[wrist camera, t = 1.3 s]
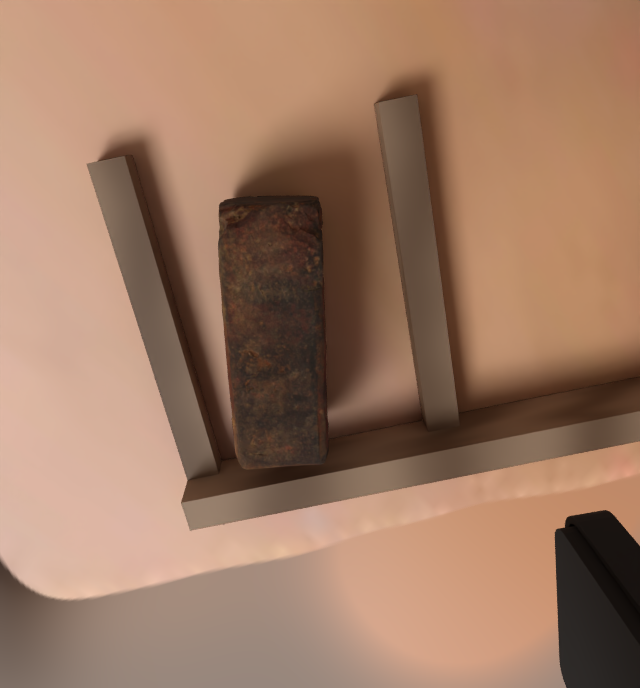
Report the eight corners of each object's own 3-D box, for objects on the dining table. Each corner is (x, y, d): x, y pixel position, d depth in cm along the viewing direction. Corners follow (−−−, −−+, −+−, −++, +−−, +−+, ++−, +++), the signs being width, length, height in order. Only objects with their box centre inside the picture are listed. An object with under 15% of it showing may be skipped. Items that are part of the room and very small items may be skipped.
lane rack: (694, 36, 23) (750, 22, 20) (687, 394, 29) (730, 422, 26) (95, 162, 24) (70, 165, 21) (199, 492, 29) (189, 530, 26)
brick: (325, 417, 28) (332, 469, 24) (242, 421, 28) (234, 474, 24) (318, 191, 25) (325, 202, 20) (224, 194, 25) (210, 206, 20)
